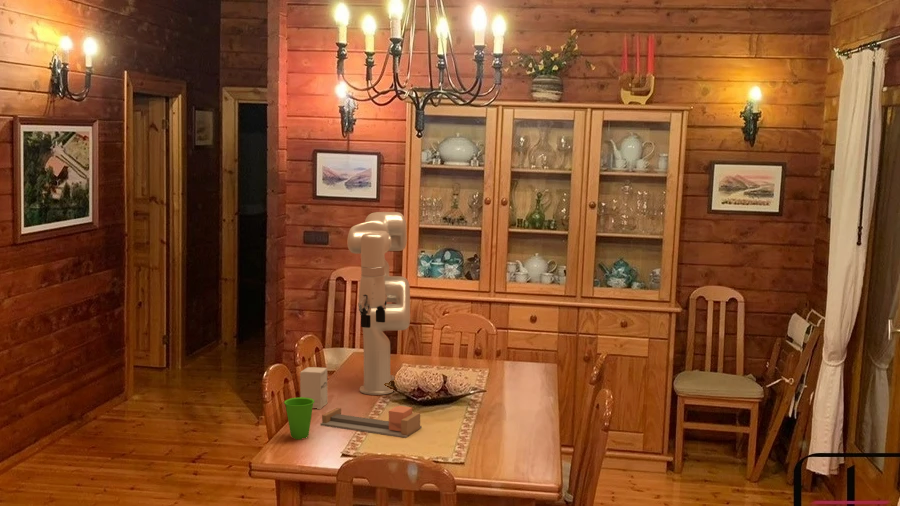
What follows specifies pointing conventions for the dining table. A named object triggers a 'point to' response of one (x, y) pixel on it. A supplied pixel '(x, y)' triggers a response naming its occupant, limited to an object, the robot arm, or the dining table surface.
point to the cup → (299, 416)
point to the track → (371, 423)
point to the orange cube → (398, 417)
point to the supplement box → (314, 385)
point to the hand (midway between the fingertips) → (373, 324)
